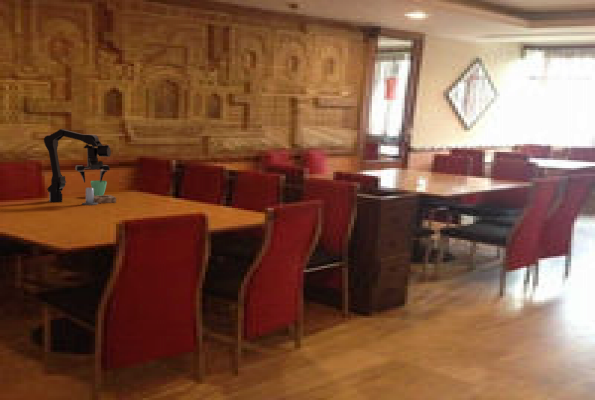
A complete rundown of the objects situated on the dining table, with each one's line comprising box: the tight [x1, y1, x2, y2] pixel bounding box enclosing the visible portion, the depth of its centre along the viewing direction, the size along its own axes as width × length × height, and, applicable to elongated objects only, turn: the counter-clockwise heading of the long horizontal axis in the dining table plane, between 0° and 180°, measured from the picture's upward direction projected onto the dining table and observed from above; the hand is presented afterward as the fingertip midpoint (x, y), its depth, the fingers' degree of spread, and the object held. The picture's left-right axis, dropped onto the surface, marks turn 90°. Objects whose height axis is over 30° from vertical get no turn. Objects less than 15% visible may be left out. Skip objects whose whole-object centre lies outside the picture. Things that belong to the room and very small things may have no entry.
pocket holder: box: [94, 194, 117, 204], centre depth 383 cm, size 12×12×3 cm
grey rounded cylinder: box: [85, 187, 94, 204], centre depth 370 cm, size 4×4×9 cm
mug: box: [90, 180, 108, 196], centre depth 406 cm, size 15×10×10 cm
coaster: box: [81, 201, 99, 206], centre depth 371 cm, size 9×9×1 cm
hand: (92, 182), depth 373 cm, fingers open, 9 cm apart
